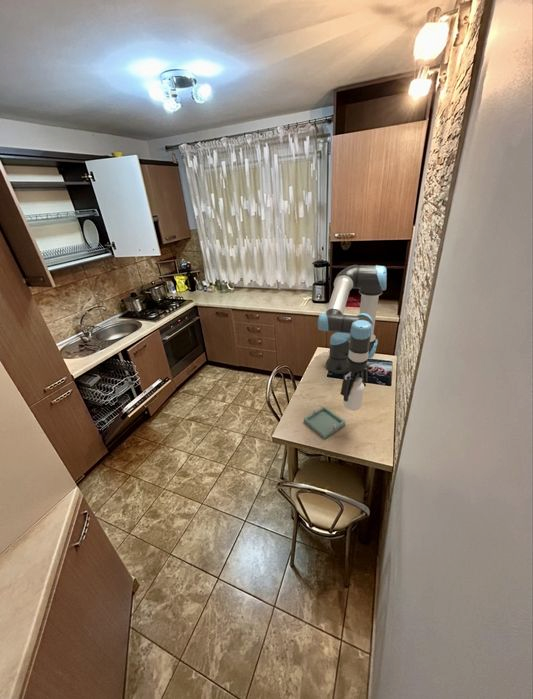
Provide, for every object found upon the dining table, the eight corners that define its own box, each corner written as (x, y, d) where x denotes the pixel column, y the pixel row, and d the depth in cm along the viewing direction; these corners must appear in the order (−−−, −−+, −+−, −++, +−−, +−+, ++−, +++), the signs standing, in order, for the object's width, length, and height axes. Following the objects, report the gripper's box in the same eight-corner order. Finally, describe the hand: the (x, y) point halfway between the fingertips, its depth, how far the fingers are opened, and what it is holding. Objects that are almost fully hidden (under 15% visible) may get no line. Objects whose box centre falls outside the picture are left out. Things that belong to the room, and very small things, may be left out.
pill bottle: (351, 413, 120) (354, 386, 112) (339, 402, 126) (341, 376, 119) (365, 407, 123) (369, 380, 115) (353, 397, 129) (356, 370, 121)
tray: (323, 409, 144) (324, 402, 142) (345, 425, 134) (346, 418, 131) (303, 422, 137) (303, 415, 135) (324, 439, 127) (325, 432, 125)
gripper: (365, 345, 120) (360, 387, 131) (333, 363, 109) (330, 407, 121) (381, 352, 114) (374, 395, 126) (348, 372, 104) (344, 416, 116)
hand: (352, 401), depth 123 cm, fingers closed on pill bottle, 8 cm apart
